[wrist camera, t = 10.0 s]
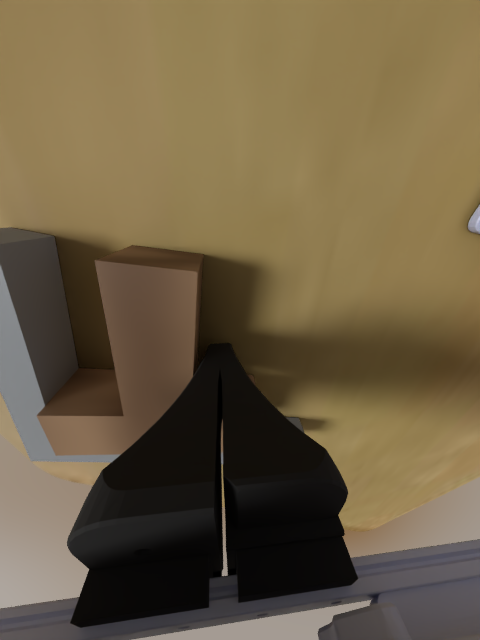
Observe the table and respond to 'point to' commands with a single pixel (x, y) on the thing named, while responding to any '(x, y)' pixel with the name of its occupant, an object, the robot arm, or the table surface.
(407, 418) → the table surface
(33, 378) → the gray l-shaped block
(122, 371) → the t block
